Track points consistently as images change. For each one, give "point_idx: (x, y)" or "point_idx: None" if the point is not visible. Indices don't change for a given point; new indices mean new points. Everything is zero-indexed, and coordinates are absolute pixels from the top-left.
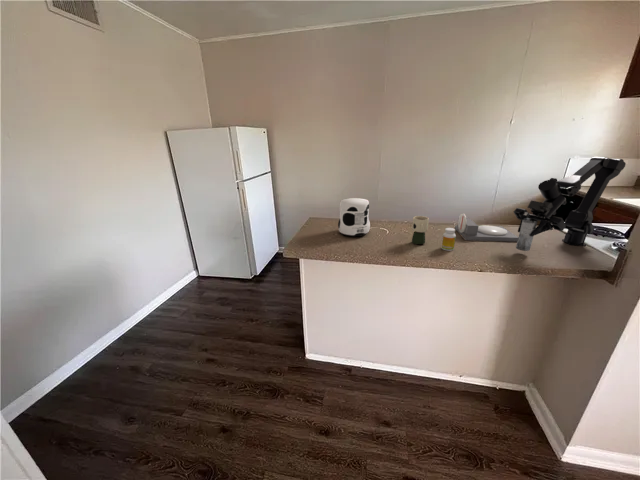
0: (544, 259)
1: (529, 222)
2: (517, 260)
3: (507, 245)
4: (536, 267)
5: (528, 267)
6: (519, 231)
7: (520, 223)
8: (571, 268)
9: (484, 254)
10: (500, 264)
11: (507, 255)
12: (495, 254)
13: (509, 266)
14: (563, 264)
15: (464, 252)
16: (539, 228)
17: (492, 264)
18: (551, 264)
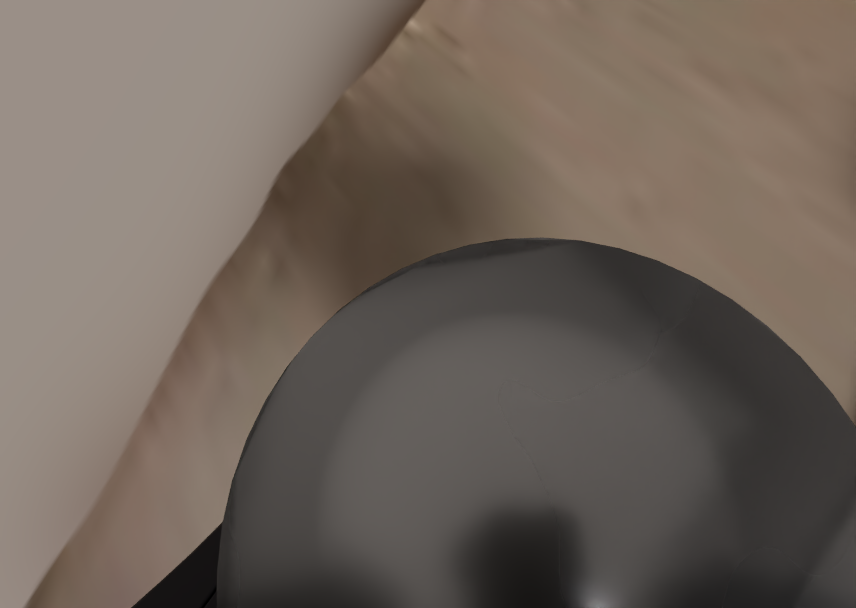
0: None
1: (379, 295)
2: (375, 274)
3: None
4: (227, 297)
5: (254, 241)
6: None
7: None
8: (75, 564)
9: (562, 127)
10: (373, 102)
11: None
12: (535, 207)
13: (324, 133)
14: (149, 589)
15: (641, 21)
16: (205, 550)
17: (394, 56)
18: (201, 476)
